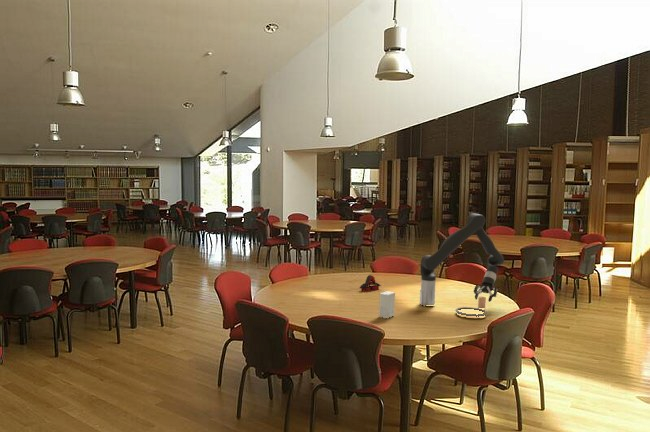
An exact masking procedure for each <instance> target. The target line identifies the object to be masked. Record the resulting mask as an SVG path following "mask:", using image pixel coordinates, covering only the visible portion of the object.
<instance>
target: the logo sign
mask: <svg viewBox="0 0 650 432" xmlns="http://www.w3.org/2000/svg"><path fill="white" fill-rule="evenodd" d="M380 287H382V285H381V284H380V283H378V282H376V279H375V276H373V275H371V274H368V275H367V277H366V279H365V282H364V283H362V284H361V285H360V286H359V289H360V290H361V292H371V291H378V290H379V289H380Z"/></svg>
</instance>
